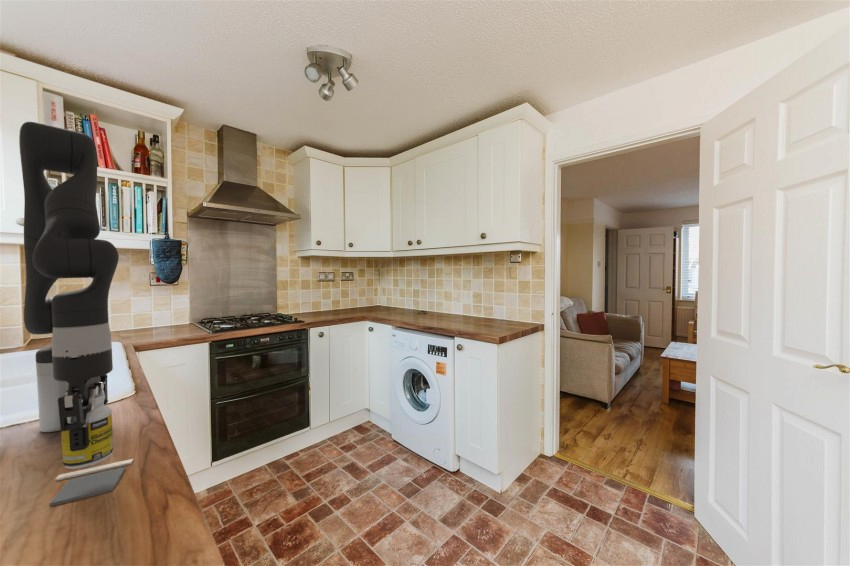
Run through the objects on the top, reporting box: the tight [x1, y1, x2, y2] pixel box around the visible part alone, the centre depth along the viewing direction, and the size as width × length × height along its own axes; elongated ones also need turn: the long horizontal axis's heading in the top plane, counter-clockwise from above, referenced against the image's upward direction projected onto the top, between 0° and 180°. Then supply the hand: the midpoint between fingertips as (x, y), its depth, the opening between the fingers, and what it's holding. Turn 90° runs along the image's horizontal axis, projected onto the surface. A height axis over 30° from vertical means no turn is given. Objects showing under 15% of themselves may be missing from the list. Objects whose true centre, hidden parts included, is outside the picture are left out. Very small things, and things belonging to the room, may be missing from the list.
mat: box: [49, 466, 126, 507], centre depth 62 cm, size 8×8×1 cm
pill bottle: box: [60, 393, 114, 470], centre depth 61 cm, size 6×6×12 cm
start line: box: [54, 458, 134, 482], centre depth 67 cm, size 2×11×1 cm, turn 119°
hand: (87, 440), depth 61 cm, fingers closed on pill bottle, 6 cm apart
